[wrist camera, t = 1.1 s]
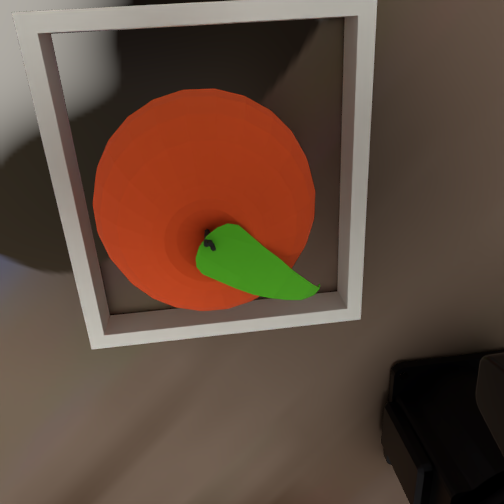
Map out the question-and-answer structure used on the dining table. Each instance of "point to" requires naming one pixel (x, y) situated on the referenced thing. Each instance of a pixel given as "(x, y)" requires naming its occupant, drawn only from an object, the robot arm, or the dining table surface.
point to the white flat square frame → (72, 194)
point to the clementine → (206, 201)
